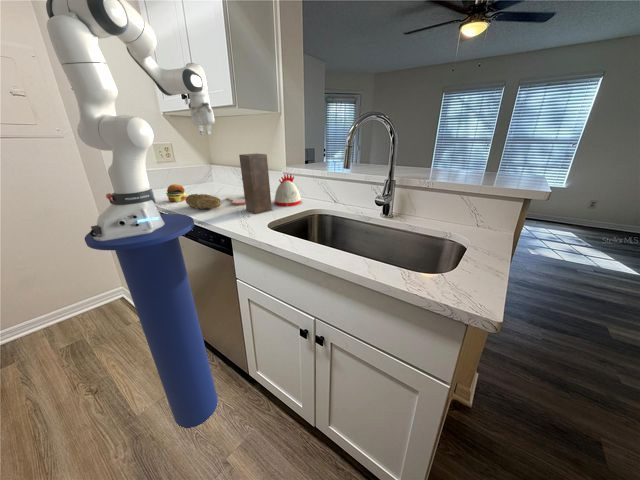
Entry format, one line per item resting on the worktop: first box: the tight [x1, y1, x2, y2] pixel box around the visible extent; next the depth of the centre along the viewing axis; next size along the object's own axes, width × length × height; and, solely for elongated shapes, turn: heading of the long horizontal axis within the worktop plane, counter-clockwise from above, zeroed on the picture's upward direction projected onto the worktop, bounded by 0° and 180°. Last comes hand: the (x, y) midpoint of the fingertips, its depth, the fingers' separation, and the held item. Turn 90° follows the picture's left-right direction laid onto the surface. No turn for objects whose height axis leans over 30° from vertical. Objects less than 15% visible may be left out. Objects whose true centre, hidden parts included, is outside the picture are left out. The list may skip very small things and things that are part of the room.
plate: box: [226, 196, 246, 206], centre depth 144 cm, size 8×19×1 cm, turn 41°
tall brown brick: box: [238, 152, 273, 215], centre depth 122 cm, size 9×9×26 cm
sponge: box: [185, 193, 222, 210], centre depth 132 cm, size 13×8×20 cm
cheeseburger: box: [165, 184, 188, 203], centre depth 148 cm, size 10×11×10 cm
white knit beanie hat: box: [274, 173, 302, 207], centre depth 137 cm, size 14×14×15 cm
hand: (205, 134), depth 131 cm, fingers open, 8 cm apart
